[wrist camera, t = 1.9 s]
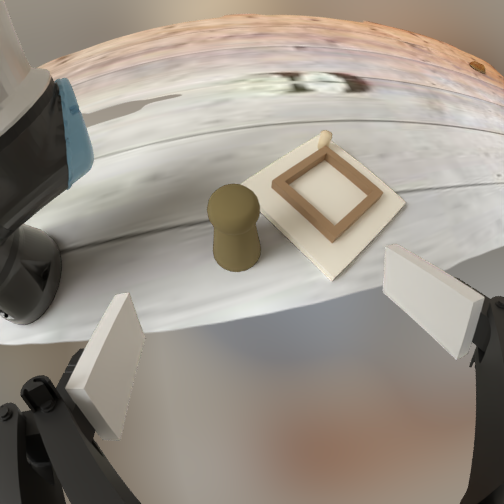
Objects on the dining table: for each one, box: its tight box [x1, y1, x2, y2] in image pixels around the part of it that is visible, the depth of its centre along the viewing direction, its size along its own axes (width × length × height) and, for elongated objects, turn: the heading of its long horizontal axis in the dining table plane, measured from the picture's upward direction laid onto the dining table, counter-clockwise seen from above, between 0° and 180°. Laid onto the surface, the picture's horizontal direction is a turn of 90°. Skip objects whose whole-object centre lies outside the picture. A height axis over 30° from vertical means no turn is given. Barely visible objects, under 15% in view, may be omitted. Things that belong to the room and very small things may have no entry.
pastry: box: [470, 61, 486, 74], centre depth 74 cm, size 9×7×4 cm
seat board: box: [240, 130, 406, 281], centre depth 39 cm, size 18×18×4 cm
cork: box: [207, 184, 261, 272], centre depth 32 cm, size 6×6×11 cm
